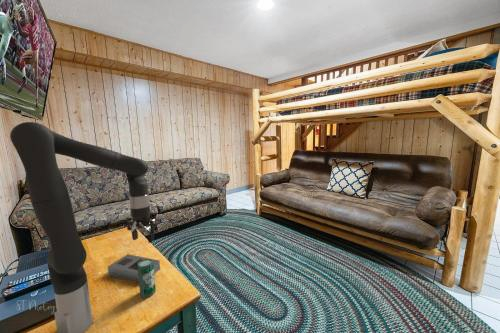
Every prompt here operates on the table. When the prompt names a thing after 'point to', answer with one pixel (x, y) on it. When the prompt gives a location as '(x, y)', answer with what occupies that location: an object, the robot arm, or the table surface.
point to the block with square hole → (129, 267)
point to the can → (146, 278)
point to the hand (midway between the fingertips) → (143, 240)
